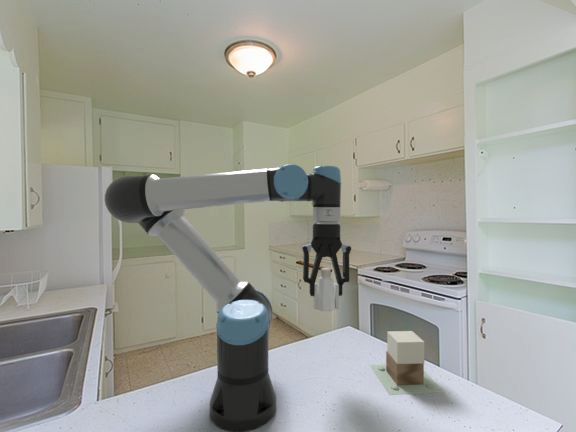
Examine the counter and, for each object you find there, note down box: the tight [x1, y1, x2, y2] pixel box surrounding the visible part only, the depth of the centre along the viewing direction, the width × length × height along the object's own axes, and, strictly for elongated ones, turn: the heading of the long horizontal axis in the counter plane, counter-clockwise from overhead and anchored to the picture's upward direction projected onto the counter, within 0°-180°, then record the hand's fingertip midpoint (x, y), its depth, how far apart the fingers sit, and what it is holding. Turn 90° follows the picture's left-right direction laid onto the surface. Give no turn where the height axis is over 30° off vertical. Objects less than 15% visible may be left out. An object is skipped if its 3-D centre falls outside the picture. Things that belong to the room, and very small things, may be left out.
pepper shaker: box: [316, 267, 336, 312], centre depth 82 cm, size 5×5×11 cm
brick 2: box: [385, 351, 425, 386], centre depth 79 cm, size 7×7×6 cm
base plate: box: [369, 363, 445, 396], centre depth 80 cm, size 14×14×1 cm
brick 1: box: [386, 330, 425, 364], centre depth 79 cm, size 7×7×6 cm
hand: (325, 307), depth 82 cm, fingers closed on pepper shaker, 5 cm apart
